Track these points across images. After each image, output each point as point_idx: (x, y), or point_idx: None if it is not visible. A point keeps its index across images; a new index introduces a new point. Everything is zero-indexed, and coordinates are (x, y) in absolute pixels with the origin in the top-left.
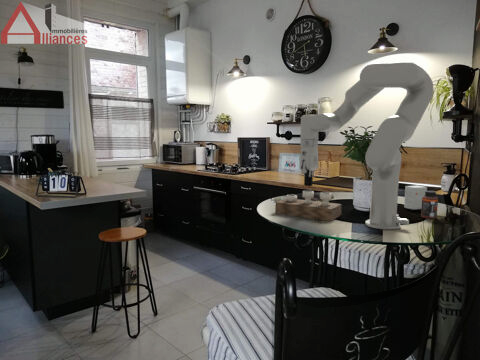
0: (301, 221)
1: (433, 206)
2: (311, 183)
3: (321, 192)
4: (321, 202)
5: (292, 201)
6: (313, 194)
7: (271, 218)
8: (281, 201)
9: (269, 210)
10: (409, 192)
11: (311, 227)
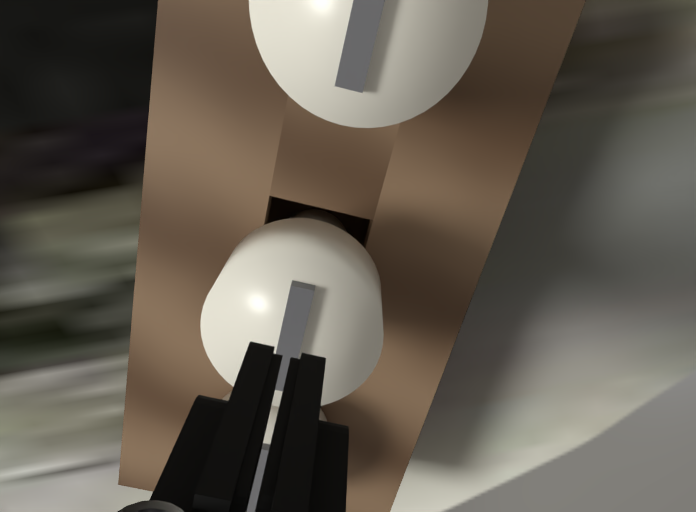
0: (638, 212)
1: None
2: (297, 379)
3: (305, 107)
4: (193, 96)
5: (323, 416)
6: (305, 235)
7: (573, 441)
8: None
9: None
10: None
11: None
